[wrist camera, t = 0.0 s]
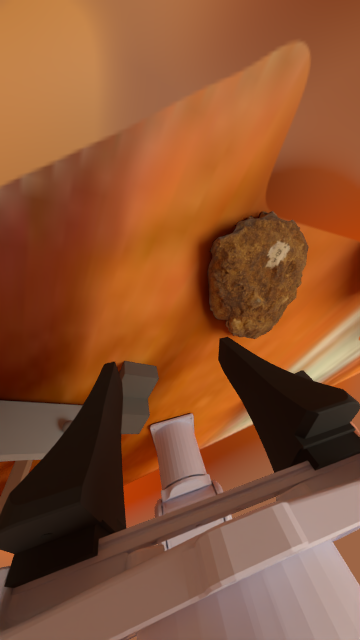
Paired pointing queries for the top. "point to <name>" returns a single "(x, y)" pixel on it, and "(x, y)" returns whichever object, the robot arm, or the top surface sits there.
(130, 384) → the doorstop wedge
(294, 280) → the decorative rock
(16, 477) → the gateposts
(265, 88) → the top surface
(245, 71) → the top surface
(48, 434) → the door
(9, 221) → the top surface
